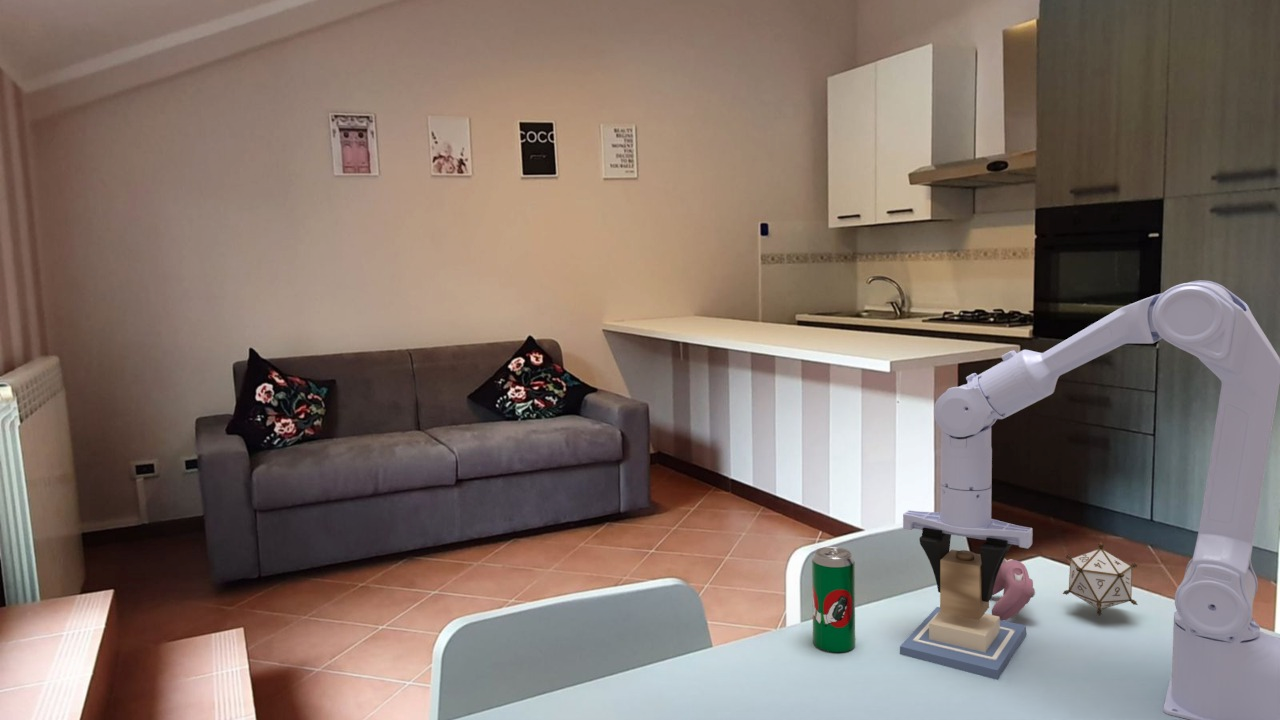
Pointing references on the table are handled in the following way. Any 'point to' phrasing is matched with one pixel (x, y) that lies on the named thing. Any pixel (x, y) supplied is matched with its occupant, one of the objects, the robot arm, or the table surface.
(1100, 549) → the game die
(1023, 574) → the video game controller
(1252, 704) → the robot arm
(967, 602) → the oak block
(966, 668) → the blueprint board
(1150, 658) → the table surface
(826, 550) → the soda can
